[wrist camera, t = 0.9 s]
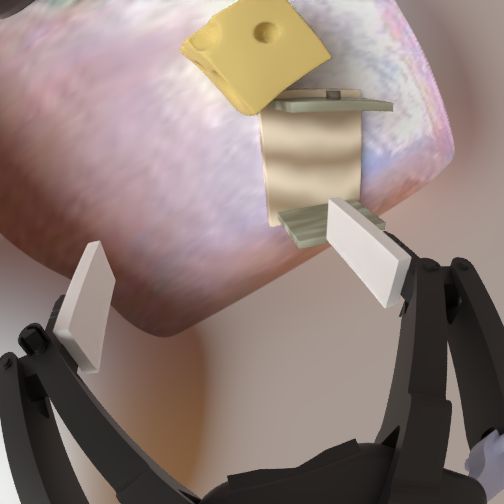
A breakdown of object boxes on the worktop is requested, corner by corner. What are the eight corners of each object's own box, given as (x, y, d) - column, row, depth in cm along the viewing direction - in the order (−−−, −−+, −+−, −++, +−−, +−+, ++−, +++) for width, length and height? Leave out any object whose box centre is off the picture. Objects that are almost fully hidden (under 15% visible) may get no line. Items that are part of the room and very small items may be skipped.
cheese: (178, 52, 26) (177, 35, 18) (250, 4, 24) (276, -24, 16) (234, 112, 31) (254, 119, 23) (301, 64, 30) (341, 58, 21)
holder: (255, 92, 30) (281, 92, 23) (354, 89, 32) (399, 95, 24) (268, 222, 40) (291, 258, 32) (353, 206, 42) (389, 234, 34)
